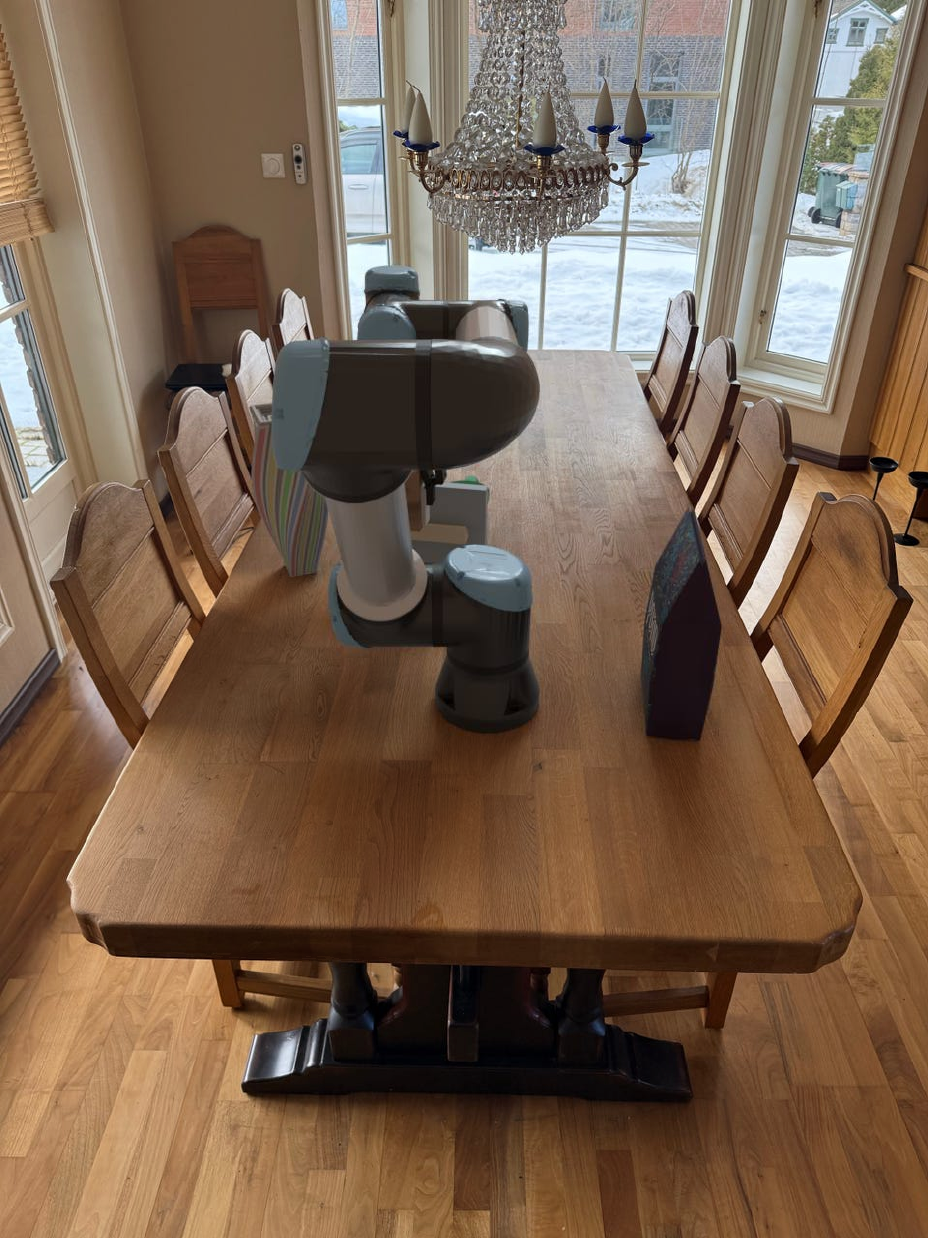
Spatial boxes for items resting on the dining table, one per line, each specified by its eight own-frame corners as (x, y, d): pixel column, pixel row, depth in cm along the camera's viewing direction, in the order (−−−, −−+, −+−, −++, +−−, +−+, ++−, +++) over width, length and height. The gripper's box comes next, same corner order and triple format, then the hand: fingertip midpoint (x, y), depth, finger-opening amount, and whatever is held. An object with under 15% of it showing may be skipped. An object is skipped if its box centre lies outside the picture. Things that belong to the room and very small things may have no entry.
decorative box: (642, 739, 120) (668, 560, 105) (637, 669, 134) (659, 502, 118) (703, 743, 119) (738, 564, 104) (691, 673, 133) (720, 505, 118)
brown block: (418, 533, 138) (417, 475, 132) (376, 530, 139) (372, 471, 133) (431, 509, 145) (430, 453, 139) (390, 506, 146) (387, 449, 140)
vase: (328, 546, 167) (313, 392, 151) (346, 579, 157) (332, 418, 141) (257, 558, 163) (234, 402, 147) (271, 593, 153) (248, 429, 136)
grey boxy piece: (482, 591, 153) (483, 497, 143) (350, 578, 157) (343, 486, 147) (492, 562, 162) (493, 471, 152) (367, 550, 166) (361, 461, 156)
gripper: (467, 375, 129) (467, 515, 142) (338, 367, 133) (349, 505, 145) (457, 391, 123) (458, 536, 136) (322, 383, 126) (335, 525, 139)
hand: (402, 519), depth 140 cm, fingers closed on brown block, 7 cm apart
